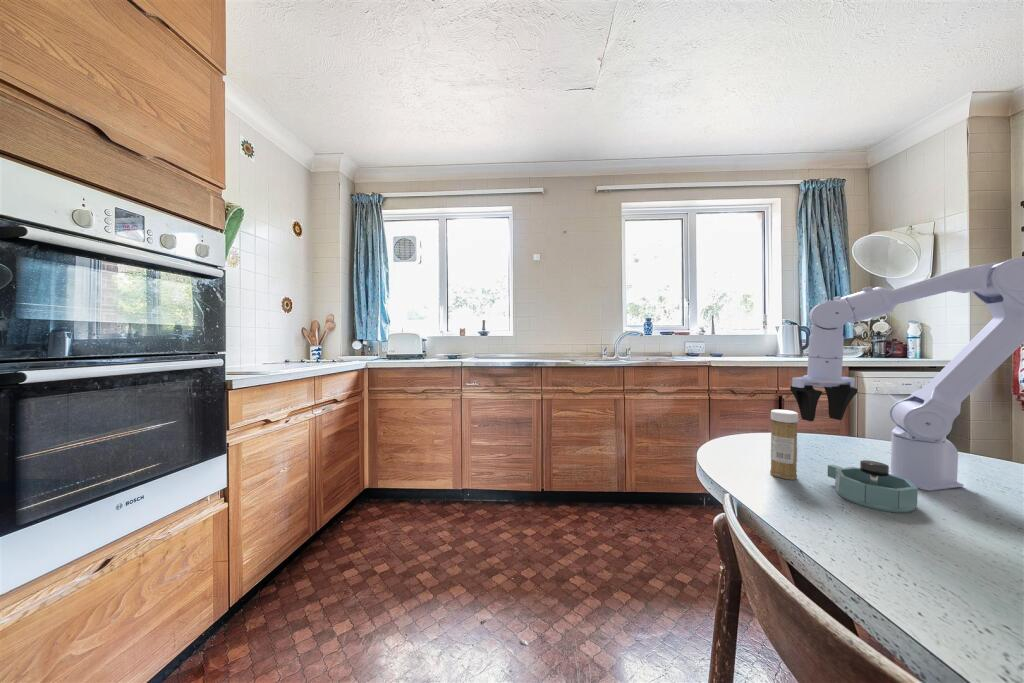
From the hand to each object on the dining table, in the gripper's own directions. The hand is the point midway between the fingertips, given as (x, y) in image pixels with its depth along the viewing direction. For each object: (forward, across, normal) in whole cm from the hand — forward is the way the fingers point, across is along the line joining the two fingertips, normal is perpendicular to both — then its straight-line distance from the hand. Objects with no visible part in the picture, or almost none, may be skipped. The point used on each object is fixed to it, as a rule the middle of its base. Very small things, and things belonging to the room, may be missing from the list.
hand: (821, 419), depth 81 cm
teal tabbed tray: (+10, +6, +13) cm, 18 cm away
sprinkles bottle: (+11, +12, +3) cm, 17 cm away
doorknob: (+9, +6, +15) cm, 18 cm away
